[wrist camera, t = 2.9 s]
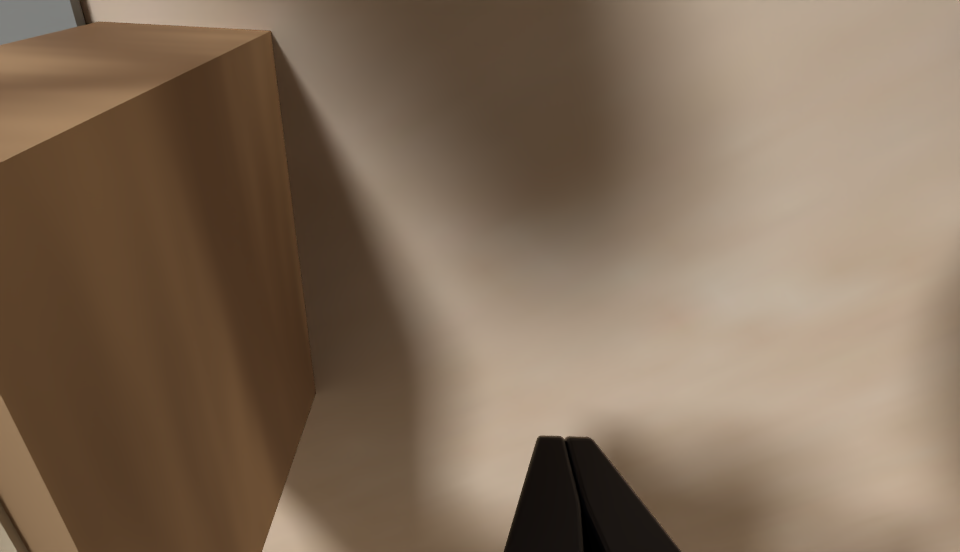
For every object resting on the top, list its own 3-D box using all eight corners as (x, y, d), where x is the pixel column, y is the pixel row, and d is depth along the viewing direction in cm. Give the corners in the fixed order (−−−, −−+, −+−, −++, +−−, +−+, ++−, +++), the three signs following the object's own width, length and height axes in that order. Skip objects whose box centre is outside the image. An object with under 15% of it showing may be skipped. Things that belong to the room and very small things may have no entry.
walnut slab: (271, 30, 12) (-106, 212, 4) (315, 392, 17) (184, 778, 9) (99, 21, 12) (-617, 191, 4) (196, 388, 17) (-39, 776, 9)
